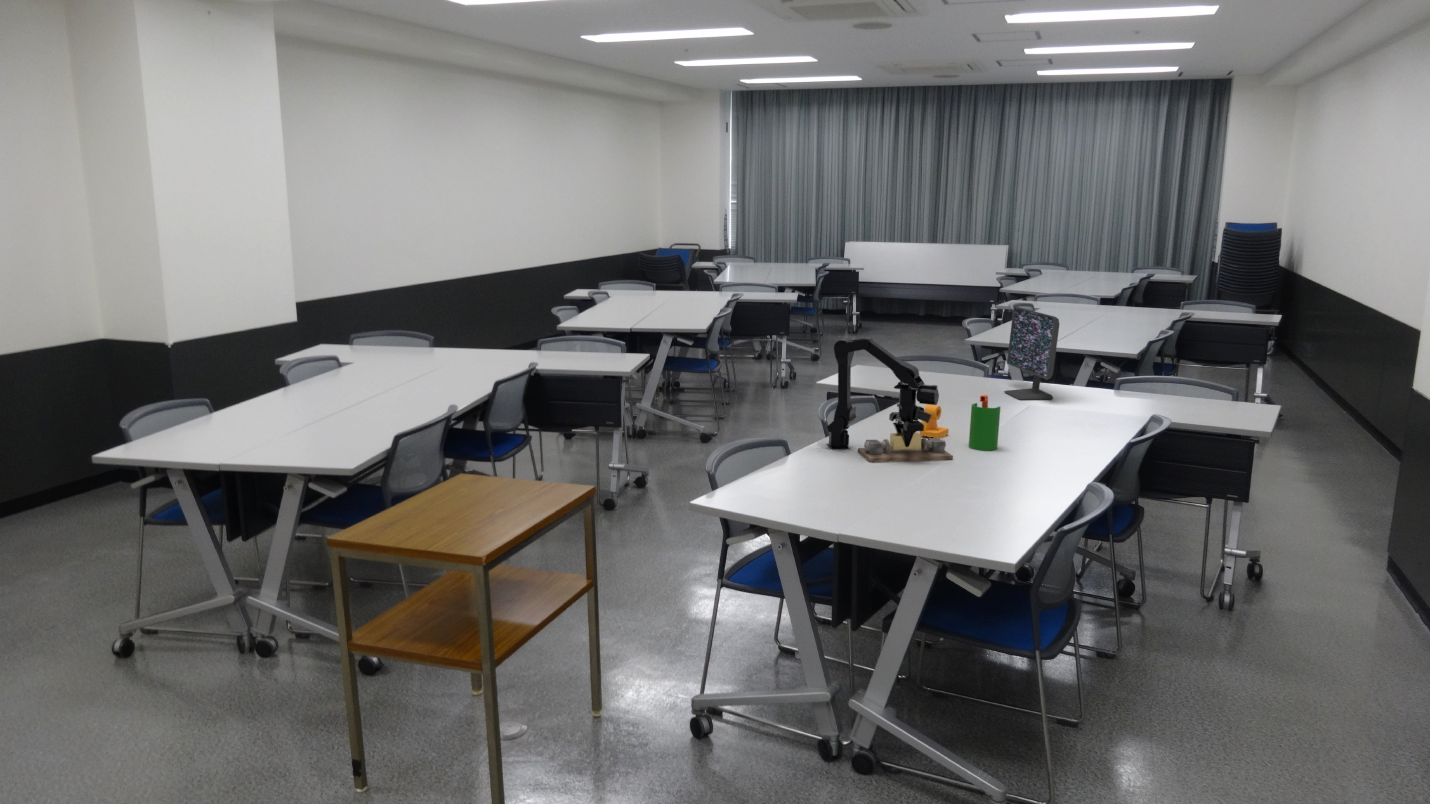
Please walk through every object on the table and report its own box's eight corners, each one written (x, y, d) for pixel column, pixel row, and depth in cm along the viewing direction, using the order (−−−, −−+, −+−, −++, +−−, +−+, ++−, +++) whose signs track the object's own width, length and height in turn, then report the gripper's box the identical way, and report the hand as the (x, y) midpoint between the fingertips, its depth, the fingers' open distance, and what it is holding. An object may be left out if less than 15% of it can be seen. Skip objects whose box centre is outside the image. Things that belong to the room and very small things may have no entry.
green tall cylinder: (998, 446, 351) (1002, 393, 346) (994, 452, 343) (999, 397, 339) (970, 443, 355) (974, 390, 351) (966, 448, 347) (970, 395, 343)
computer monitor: (992, 387, 464) (999, 305, 456) (1024, 387, 466) (1031, 305, 458) (1031, 406, 422) (1039, 316, 413) (1066, 406, 423) (1074, 316, 415)
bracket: (936, 440, 359) (938, 409, 356) (919, 437, 363) (921, 406, 361) (949, 435, 367) (951, 404, 365) (931, 432, 372) (933, 402, 369)
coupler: (916, 446, 338) (917, 432, 337) (920, 449, 334) (921, 435, 333) (889, 447, 336) (890, 433, 335) (893, 449, 332) (894, 436, 331)
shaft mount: (870, 462, 327) (870, 445, 325) (857, 452, 340) (858, 435, 339) (952, 459, 331) (953, 442, 330) (937, 449, 345) (938, 433, 344)
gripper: (939, 407, 324) (936, 451, 327) (919, 396, 342) (917, 438, 345) (908, 407, 322) (905, 452, 325) (889, 396, 340) (887, 439, 343)
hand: (904, 445), depth 335 cm, fingers closed on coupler, 4 cm apart
